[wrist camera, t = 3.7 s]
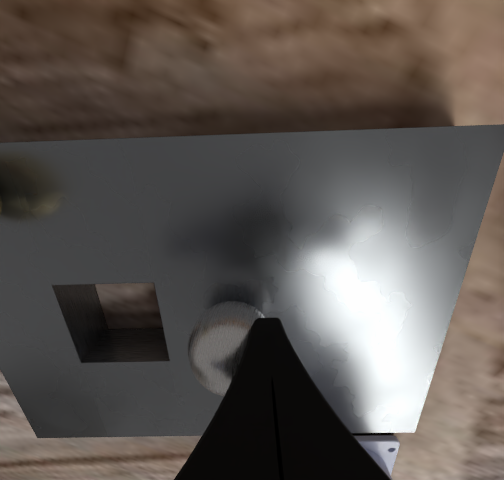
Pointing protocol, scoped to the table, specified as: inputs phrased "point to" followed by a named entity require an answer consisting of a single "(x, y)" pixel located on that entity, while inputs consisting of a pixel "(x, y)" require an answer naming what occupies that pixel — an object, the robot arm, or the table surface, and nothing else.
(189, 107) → the table surface
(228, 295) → the plate
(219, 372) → the steel ball
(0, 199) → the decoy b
